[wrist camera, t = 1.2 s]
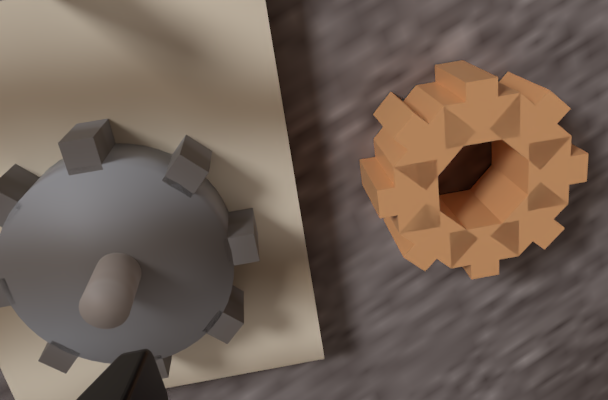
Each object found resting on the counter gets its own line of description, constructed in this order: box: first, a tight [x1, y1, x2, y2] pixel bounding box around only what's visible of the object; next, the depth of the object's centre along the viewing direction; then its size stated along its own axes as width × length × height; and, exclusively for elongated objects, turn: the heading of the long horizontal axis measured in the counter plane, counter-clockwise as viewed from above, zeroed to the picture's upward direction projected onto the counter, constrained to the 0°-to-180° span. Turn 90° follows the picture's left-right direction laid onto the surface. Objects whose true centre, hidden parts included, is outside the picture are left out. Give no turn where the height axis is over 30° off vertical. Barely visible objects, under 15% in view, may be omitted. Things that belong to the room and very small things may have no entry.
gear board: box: [0, 0, 325, 400], centre depth 17 cm, size 22×12×6 cm, turn 8°
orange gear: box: [359, 60, 589, 279], centre depth 20 cm, size 7×7×3 cm
